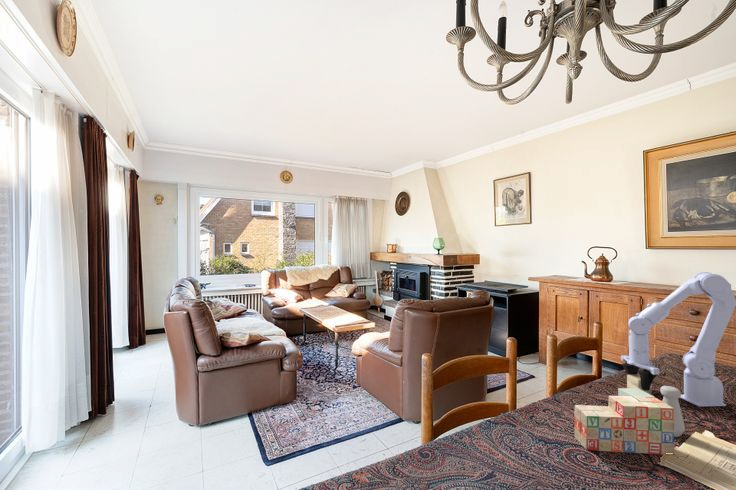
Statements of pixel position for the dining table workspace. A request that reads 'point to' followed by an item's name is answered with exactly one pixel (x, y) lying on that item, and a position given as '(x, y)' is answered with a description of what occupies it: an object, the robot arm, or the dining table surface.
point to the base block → (633, 392)
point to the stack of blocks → (626, 425)
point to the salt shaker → (672, 400)
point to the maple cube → (636, 382)
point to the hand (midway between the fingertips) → (639, 386)
